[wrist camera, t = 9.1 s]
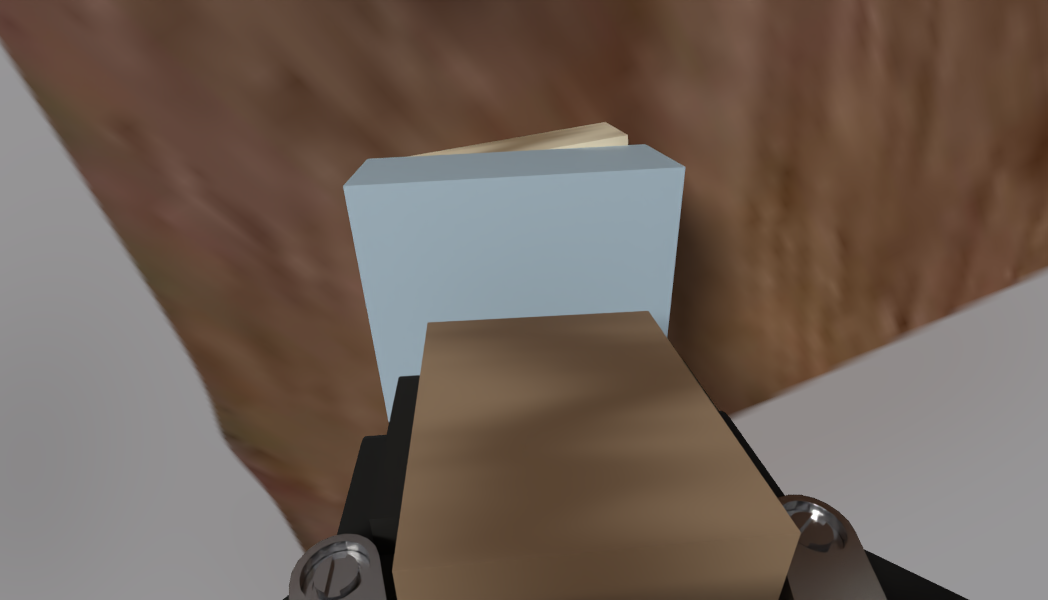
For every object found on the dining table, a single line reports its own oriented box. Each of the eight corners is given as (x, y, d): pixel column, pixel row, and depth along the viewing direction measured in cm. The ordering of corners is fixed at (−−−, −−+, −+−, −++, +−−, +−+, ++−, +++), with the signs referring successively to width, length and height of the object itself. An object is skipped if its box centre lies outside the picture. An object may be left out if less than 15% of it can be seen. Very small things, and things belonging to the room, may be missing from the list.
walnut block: (648, 310, 12) (800, 532, 6) (629, 473, 14) (731, 739, 9) (427, 322, 11) (392, 570, 6) (444, 488, 14) (429, 778, 8)
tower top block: (645, 144, 17) (685, 167, 14) (629, 371, 21) (657, 428, 18) (367, 158, 16) (343, 186, 13) (406, 390, 20) (394, 452, 17)
